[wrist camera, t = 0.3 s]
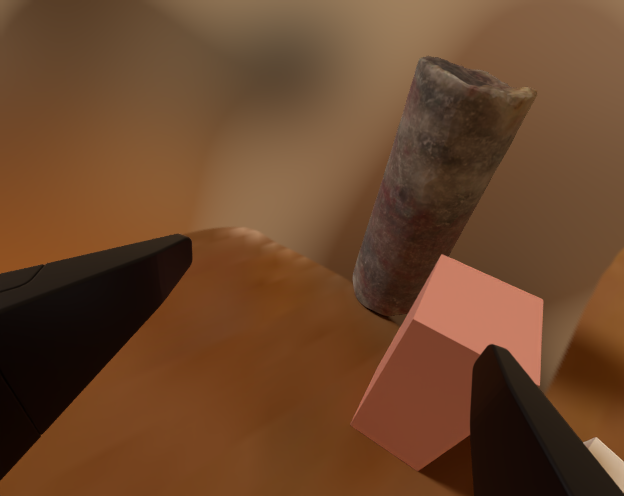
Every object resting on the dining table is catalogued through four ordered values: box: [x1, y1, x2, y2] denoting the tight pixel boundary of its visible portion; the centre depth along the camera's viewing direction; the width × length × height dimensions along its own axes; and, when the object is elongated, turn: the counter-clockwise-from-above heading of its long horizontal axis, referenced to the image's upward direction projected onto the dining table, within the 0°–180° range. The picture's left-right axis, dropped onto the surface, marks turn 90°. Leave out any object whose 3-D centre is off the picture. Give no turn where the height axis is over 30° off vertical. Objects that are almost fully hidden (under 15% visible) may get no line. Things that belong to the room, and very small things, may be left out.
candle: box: [353, 56, 537, 316], centre depth 25 cm, size 8×7×20 cm
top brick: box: [350, 254, 543, 471], centre depth 19 cm, size 5×5×13 cm
